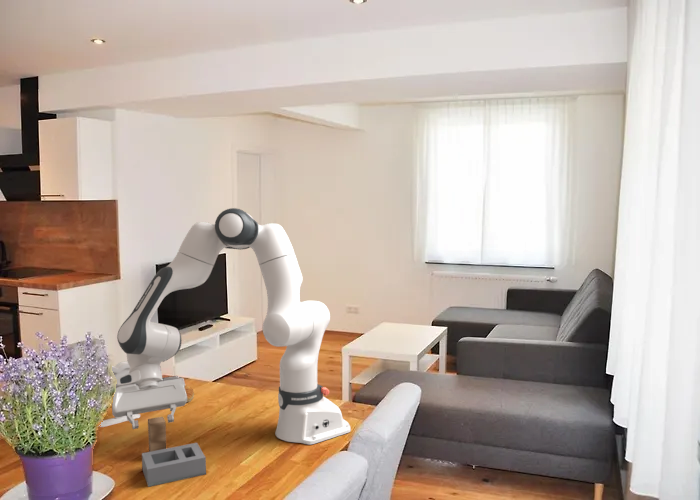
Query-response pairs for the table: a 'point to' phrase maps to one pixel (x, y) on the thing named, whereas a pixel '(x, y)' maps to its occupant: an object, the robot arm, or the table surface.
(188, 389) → the pastry
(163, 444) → the walnut peg
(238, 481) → the table surface
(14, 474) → the table surface
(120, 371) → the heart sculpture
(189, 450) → the caddy
